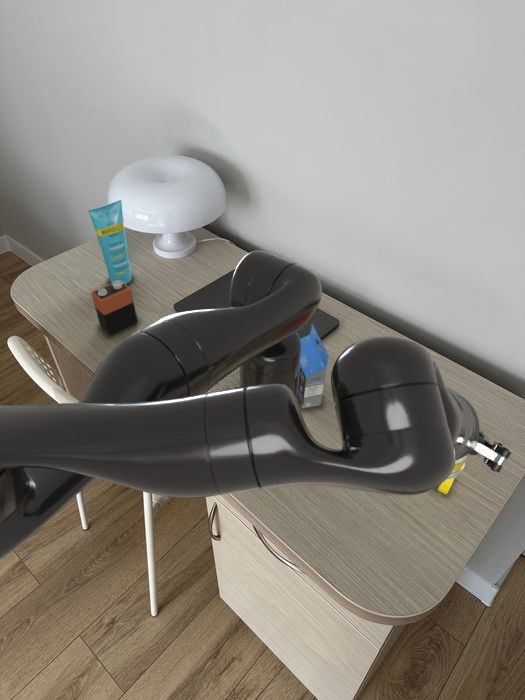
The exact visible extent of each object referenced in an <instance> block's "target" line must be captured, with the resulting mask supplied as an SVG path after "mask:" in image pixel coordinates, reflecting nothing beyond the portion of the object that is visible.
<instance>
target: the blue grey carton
mask: <svg viewBox="0 0 525 700" xmlns="http://www.w3.org/2000/svg"><path fill="white" fill-rule="evenodd" d="M300 340H301V355H300V365H299V376H298V387H297V399H298V401H299V404H300V407H301V408H302V409H310V408H314V407H318V406H321V405H322V400H323V394H324V387H325V380H326V372H327V367H328V362H329V357H330V356H329V354H328V351H327V350H326V348H325V345H324V344H323V341H322V338H321V337H320V334H319V333H318V332H317V329H316V327H315V326H314V323H312V324H311V327H310V333H309V334H307V335H306V336H303V337H302V338H301V337H300Z"/></svg>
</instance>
